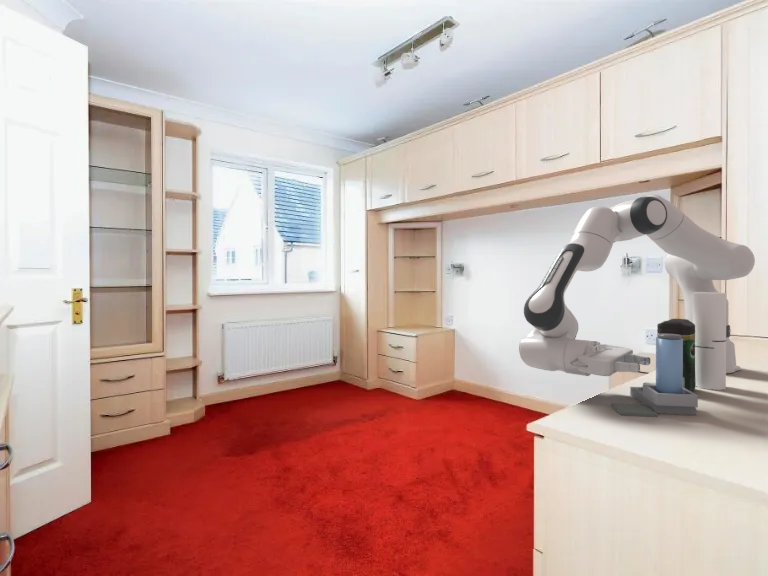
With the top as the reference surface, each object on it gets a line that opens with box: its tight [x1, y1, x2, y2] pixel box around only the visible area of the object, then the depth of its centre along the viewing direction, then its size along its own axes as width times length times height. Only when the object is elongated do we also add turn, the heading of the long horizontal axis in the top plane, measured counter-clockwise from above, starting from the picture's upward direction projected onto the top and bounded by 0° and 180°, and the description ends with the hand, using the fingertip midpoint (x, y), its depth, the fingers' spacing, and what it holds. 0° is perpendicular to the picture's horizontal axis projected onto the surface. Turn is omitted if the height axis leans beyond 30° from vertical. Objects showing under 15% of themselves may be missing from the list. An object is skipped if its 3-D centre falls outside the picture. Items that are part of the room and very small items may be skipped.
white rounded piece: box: [642, 381, 656, 386], centre depth 106 cm, size 4×4×3 cm
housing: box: [629, 384, 699, 416], centre depth 101 cm, size 16×8×4 cm, turn 169°
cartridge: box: [655, 334, 683, 394], centre depth 97 cm, size 5×5×15 cm
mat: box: [610, 402, 658, 417], centre depth 97 cm, size 7×7×1 cm
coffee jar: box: [656, 318, 697, 392], centre depth 114 cm, size 10×8×19 cm
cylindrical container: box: [693, 292, 727, 391], centre depth 116 cm, size 7×7×25 cm
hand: (644, 364), depth 101 cm, fingers open, 8 cm apart
